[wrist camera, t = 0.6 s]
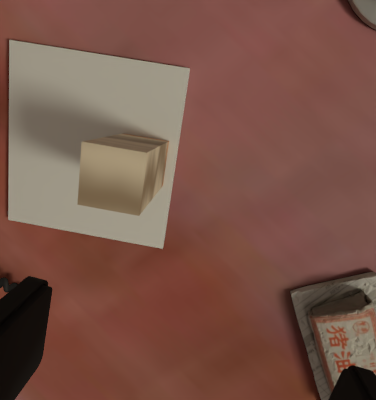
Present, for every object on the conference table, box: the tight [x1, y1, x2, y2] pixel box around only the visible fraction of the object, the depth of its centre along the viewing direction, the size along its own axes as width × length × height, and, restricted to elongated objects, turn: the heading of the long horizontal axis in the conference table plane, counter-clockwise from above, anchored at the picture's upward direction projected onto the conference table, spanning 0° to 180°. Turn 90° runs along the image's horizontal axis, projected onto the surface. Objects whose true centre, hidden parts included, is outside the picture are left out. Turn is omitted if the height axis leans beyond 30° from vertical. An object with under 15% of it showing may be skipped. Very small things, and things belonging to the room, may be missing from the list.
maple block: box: [77, 133, 169, 216], centre depth 30 cm, size 5×5×11 cm
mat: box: [8, 40, 190, 249], centre depth 36 cm, size 20×19×1 cm
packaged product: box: [290, 272, 376, 400], centre depth 37 cm, size 18×5×10 cm
